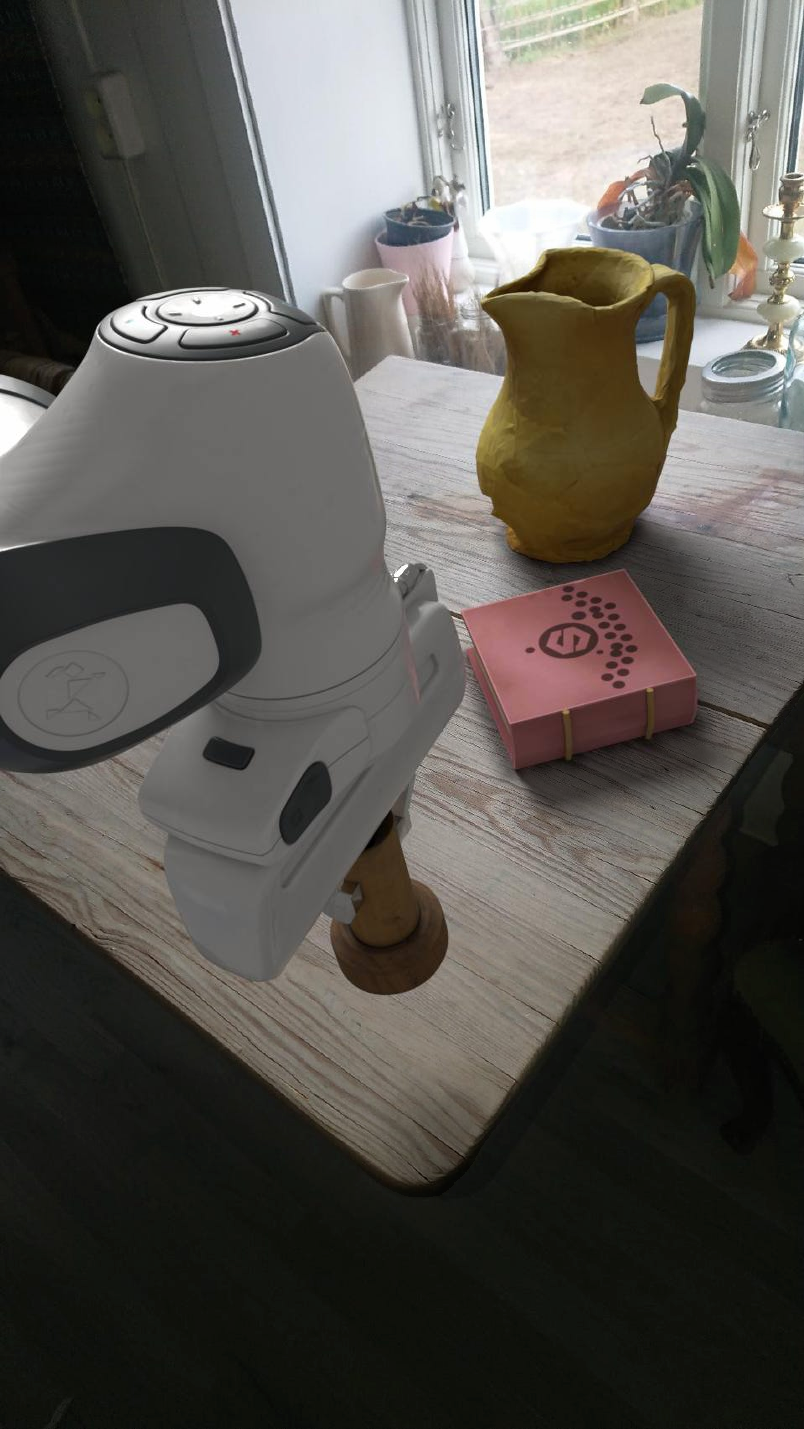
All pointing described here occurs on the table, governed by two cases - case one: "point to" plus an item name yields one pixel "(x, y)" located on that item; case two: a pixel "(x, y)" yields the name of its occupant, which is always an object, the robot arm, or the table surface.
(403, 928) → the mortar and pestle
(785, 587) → the table surface
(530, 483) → the pitcher
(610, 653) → the book
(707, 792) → the table surface
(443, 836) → the table surface
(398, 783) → the robot arm
